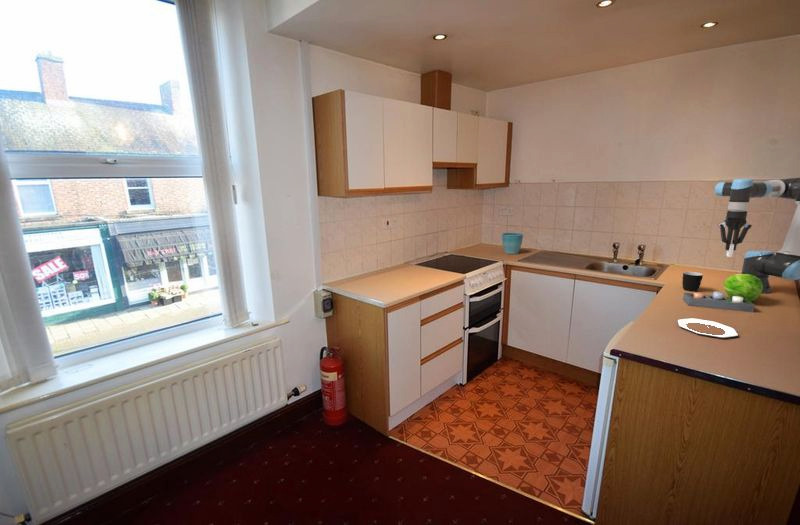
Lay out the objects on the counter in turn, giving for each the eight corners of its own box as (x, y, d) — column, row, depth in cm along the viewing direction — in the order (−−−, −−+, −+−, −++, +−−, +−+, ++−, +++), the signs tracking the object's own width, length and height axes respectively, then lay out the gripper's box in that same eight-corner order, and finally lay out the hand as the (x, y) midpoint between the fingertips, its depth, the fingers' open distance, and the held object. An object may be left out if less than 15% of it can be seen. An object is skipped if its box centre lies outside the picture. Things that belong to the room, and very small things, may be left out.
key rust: (701, 300, 193) (702, 292, 192) (703, 302, 190) (705, 295, 189) (691, 299, 195) (693, 292, 194) (694, 301, 191) (695, 294, 190)
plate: (741, 343, 148) (741, 340, 147) (680, 333, 158) (680, 330, 157) (730, 327, 164) (731, 323, 164) (675, 318, 174) (676, 315, 174)
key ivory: (739, 303, 187) (741, 296, 186) (743, 306, 184) (744, 298, 183) (729, 302, 189) (731, 295, 188) (733, 305, 185) (734, 297, 184)
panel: (744, 305, 189) (745, 298, 188) (753, 312, 180) (754, 304, 179) (682, 299, 199) (683, 292, 198) (688, 305, 190) (689, 298, 189)
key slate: (720, 299, 190) (722, 292, 189) (723, 301, 186) (725, 294, 185) (711, 298, 192) (712, 291, 191) (713, 300, 188) (715, 293, 187)
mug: (701, 293, 210) (704, 276, 208) (682, 291, 214) (685, 274, 212) (696, 287, 220) (699, 271, 218) (678, 285, 224) (681, 269, 222)
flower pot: (501, 254, 318) (502, 235, 315) (499, 250, 336) (500, 232, 332) (523, 255, 316) (524, 235, 312) (520, 251, 333) (521, 232, 329)
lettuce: (713, 290, 212) (748, 297, 205) (725, 301, 192) (764, 310, 185) (723, 266, 207) (759, 272, 201) (735, 275, 188) (776, 283, 181)
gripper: (750, 209, 185) (741, 255, 190) (718, 209, 189) (710, 254, 195) (757, 211, 178) (748, 258, 183) (724, 211, 183) (716, 257, 188)
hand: (729, 256), depth 189 cm, fingers closed
